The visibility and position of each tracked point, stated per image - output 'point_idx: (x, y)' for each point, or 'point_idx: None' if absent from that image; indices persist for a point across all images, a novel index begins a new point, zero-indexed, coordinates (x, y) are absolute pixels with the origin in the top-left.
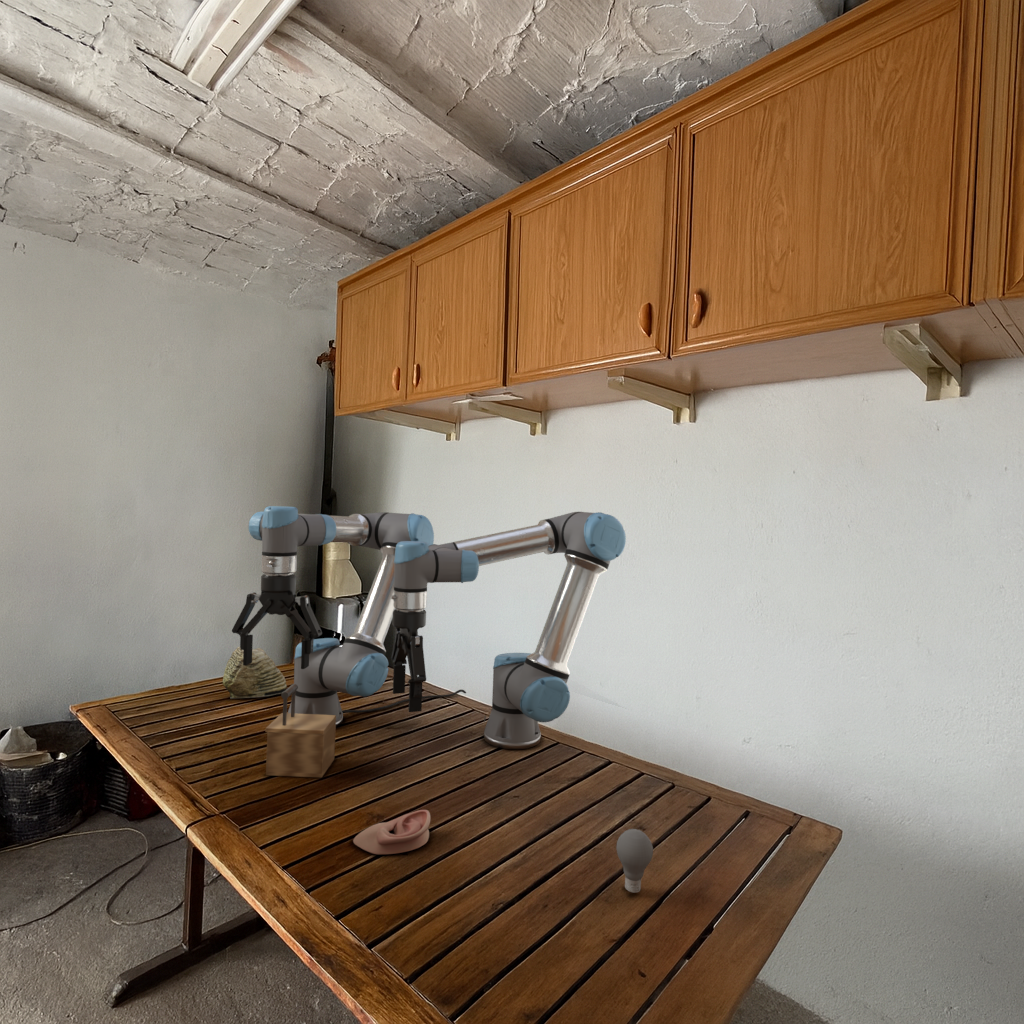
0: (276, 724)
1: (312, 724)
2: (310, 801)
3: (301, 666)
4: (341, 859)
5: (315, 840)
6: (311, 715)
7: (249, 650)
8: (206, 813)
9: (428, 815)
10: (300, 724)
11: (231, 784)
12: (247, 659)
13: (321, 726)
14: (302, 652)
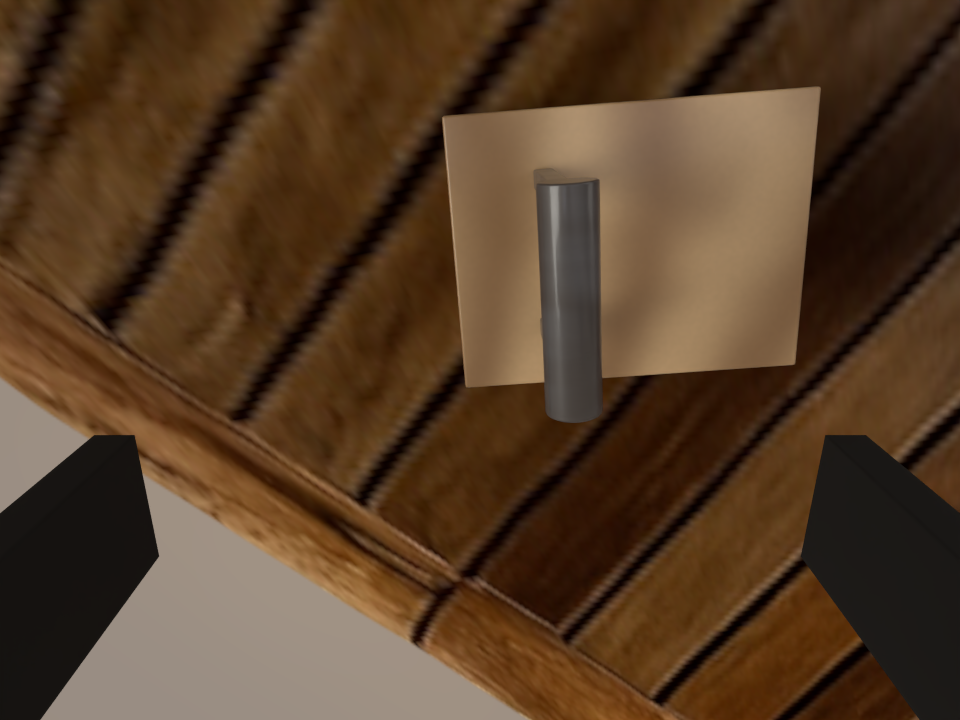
0: (501, 326)
1: (709, 289)
2: (715, 473)
3: (819, 573)
4: (872, 715)
5: (788, 657)
6: (656, 128)
7: (47, 612)
8: (423, 583)
9: None
10: (638, 301)
11: (389, 404)
12: (122, 577)
13: (770, 309)
14: (933, 715)
